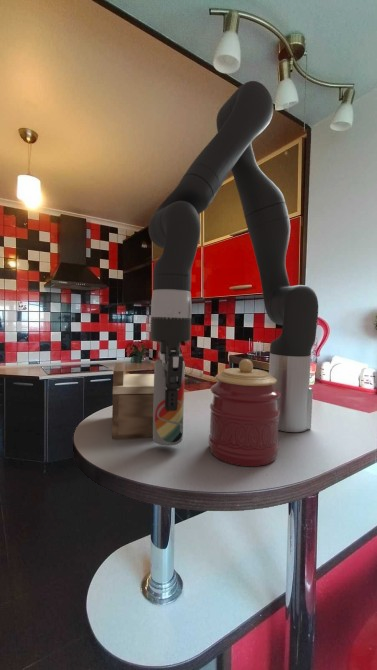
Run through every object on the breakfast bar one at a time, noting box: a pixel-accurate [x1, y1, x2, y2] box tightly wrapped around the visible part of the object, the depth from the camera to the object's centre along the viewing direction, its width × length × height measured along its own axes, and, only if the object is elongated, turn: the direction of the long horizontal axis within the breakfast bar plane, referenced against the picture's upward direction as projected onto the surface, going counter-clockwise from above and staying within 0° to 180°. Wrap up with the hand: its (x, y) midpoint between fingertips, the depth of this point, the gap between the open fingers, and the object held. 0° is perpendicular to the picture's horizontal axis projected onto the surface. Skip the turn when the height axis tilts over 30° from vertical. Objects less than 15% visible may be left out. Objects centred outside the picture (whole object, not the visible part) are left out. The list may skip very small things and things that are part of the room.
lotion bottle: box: [152, 342, 186, 447], centre depth 57 cm, size 6×6×20 cm
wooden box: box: [111, 393, 154, 440], centre depth 69 cm, size 12×14×9 cm
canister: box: [208, 358, 281, 467], centre depth 57 cm, size 13×13×18 cm
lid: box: [112, 362, 154, 395], centre depth 68 cm, size 12×14×4 cm
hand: (168, 405), depth 57 cm, fingers closed on lotion bottle, 5 cm apart
